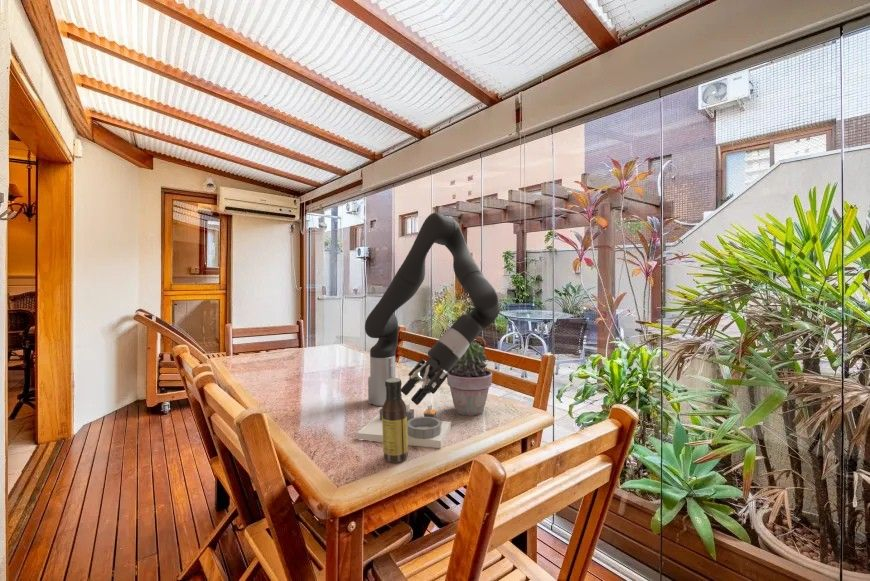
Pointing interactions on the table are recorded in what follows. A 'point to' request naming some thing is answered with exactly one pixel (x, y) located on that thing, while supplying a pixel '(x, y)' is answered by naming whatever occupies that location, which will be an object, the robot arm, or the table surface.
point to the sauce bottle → (394, 423)
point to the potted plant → (470, 380)
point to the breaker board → (378, 432)
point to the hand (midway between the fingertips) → (408, 397)
